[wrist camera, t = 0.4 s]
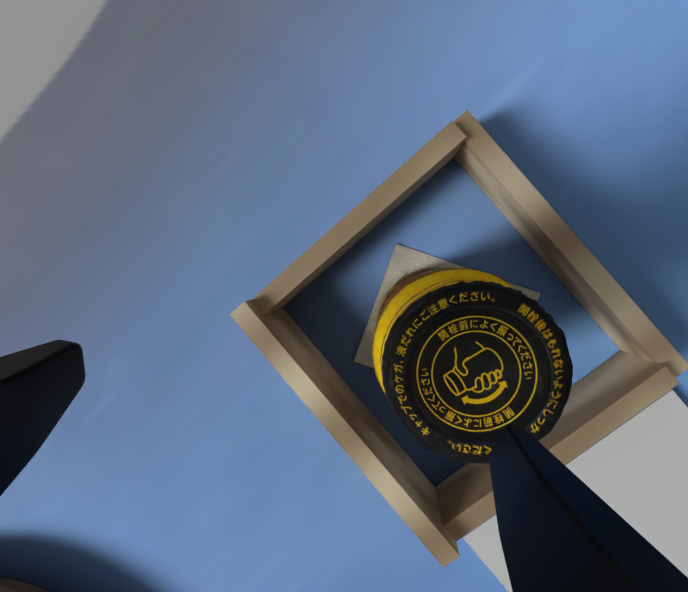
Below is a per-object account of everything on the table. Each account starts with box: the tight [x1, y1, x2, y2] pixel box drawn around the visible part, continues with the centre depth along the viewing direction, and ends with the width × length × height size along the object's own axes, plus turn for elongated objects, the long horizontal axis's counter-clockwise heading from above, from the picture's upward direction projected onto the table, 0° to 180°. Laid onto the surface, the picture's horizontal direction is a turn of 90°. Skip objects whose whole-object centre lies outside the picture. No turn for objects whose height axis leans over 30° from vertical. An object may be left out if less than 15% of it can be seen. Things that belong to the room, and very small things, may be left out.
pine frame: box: [230, 110, 688, 567], centre depth 20 cm, size 16×15×4 cm
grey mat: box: [463, 389, 688, 592], centre depth 22 cm, size 10×14×1 cm
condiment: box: [354, 244, 573, 464], centre depth 17 cm, size 7×8×12 cm
